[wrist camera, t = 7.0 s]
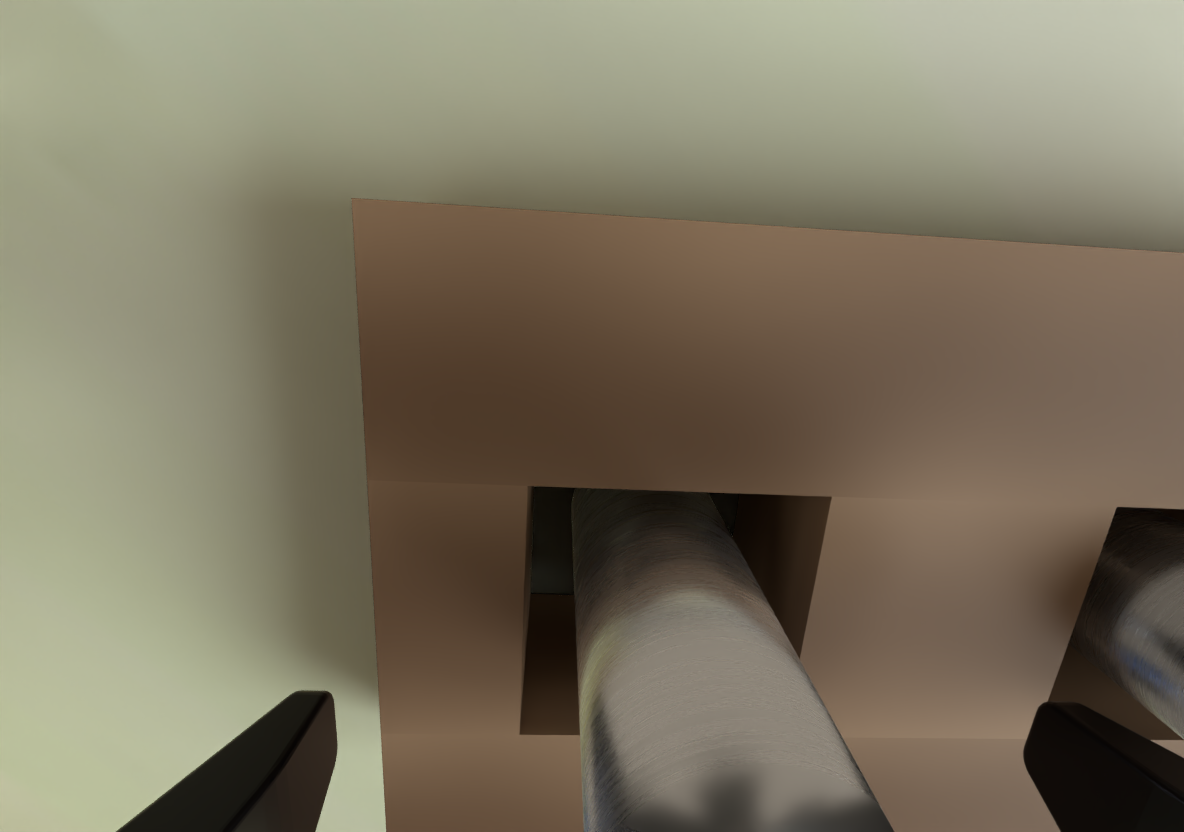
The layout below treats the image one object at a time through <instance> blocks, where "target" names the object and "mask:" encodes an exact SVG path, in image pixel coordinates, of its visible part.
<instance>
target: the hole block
mask: <svg viewBox="0 0 1184 832" xmlns="http://www.w3.org/2000/svg"><path fill="white" fill-rule="evenodd" d="M352 215H353V233H354V251H355V269H356V288H357V306H358V324H359V342H360V360H361V379H362V397H363V415H364V433H365V451H366V469H367V488H368V506H369V524H370V542H371V560H372V579H373V597H374V615H375V633H376V651H377V670H378V688H379V706H380V724H381V742H382V761H383V779H384V797H385V815H386V832H584V824H583V799H582V773H581V748H580V723H579V698H578V672H577V647H576V622H575V597H574V595H555V594H531V570H532V542H533V514H534V486H544V487H572V488H600V489H628V490H656V491H685V492H713V493H739V500H738V506H737V513H736V520H735V527H734V533H733V539H734V541H735V543H736V545H737V546H738V548H739V550H740V552H741V554H742V555H743V557H744V559H745V561H746V563H747V565H748V566H749V568H750V570H751V572H752V574H753V575H754V577H755V579H756V581H757V583H758V585H759V586H760V588H761V590H762V592H763V594H764V595H765V597H766V599H767V601H768V603H769V605H770V606H771V608H772V610H773V612H774V614H775V616H776V617H777V619H778V621H779V623H780V625H781V626H782V628H783V630H784V632H785V634H786V636H787V637H788V639H789V641H790V643H791V645H792V646H793V648H794V650H795V652H796V654H797V656H798V657H799V659H800V661H801V663H802V665H803V666H804V668H805V670H806V672H807V674H808V676H809V677H810V679H811V681H812V683H813V685H814V686H815V688H816V690H817V692H818V694H819V696H820V697H821V699H822V701H823V703H824V705H825V706H826V708H827V710H828V712H829V714H830V716H831V717H832V719H833V721H834V723H835V725H836V726H837V728H838V730H839V732H840V734H841V736H842V737H843V739H844V741H845V743H846V745H847V746H848V748H849V750H850V752H851V754H852V756H853V757H854V759H855V761H856V763H857V765H858V767H859V768H860V770H861V772H862V774H863V776H864V777H865V779H866V781H867V783H868V785H869V787H870V788H871V790H872V792H873V794H874V796H875V797H876V799H877V801H878V803H879V805H880V807H881V808H882V810H883V812H884V814H885V816H886V817H887V819H888V821H889V823H890V825H891V827H892V828H893V830H894V832H1061V831H1060V830H1059V828H1058V826H1057V824H1056V822H1055V821H1054V819H1053V817H1052V815H1051V813H1050V812H1049V810H1048V808H1047V806H1046V804H1045V803H1044V801H1043V799H1042V797H1041V795H1040V794H1039V792H1038V790H1037V788H1036V786H1035V784H1034V783H1033V781H1032V779H1031V777H1030V775H1029V774H1028V772H1027V769H1026V767H1025V764H1024V759H1023V749H1024V745H1025V742H1026V739H1027V737H1028V734H1029V731H1030V728H1031V725H1032V722H1033V720H1034V717H1035V714H1036V711H1037V709H1038V707H1039V706H1040V705H1041V704H1042V703H1043V702H1047V701H1071V702H1077V703H1080V704H1083V705H1085V706H1087V707H1089V708H1090V709H1092V710H1094V711H1096V712H1098V713H1100V714H1102V715H1104V716H1106V717H1107V718H1109V719H1111V720H1113V721H1115V722H1117V723H1119V724H1121V725H1123V726H1124V727H1126V728H1128V729H1130V730H1132V731H1134V732H1136V733H1138V734H1140V735H1142V736H1143V737H1145V738H1147V739H1149V740H1151V741H1153V742H1155V743H1157V744H1159V745H1160V746H1162V747H1164V748H1166V749H1168V750H1170V751H1172V752H1174V753H1176V754H1177V755H1179V756H1181V757H1183V758H1184V739H1182V738H1181V737H1180V736H1179V735H1178V734H1176V733H1175V732H1174V731H1173V730H1172V729H1170V728H1169V727H1168V726H1167V725H1166V724H1164V723H1163V722H1162V721H1161V720H1160V719H1158V718H1157V717H1156V716H1155V715H1154V714H1152V713H1151V712H1150V711H1149V710H1147V709H1146V708H1145V707H1144V706H1143V705H1141V704H1140V703H1139V702H1138V701H1137V700H1135V699H1134V698H1133V697H1132V696H1131V695H1129V694H1128V693H1127V692H1126V691H1125V690H1123V689H1122V688H1121V687H1120V686H1119V685H1117V684H1116V683H1115V682H1114V681H1113V680H1111V679H1110V678H1109V677H1108V676H1107V675H1105V674H1104V673H1103V672H1102V671H1100V670H1099V669H1098V668H1097V667H1096V666H1094V665H1093V664H1092V663H1091V662H1090V661H1088V660H1087V659H1086V658H1085V657H1084V656H1082V655H1081V654H1080V653H1079V652H1078V651H1076V650H1075V649H1074V648H1073V647H1072V646H1070V645H1069V644H1068V643H1069V640H1070V637H1071V634H1072V632H1073V629H1074V626H1075V623H1076V620H1077V617H1078V615H1079V612H1080V609H1081V606H1082V603H1083V601H1084V598H1085V595H1086V592H1087V589H1088V587H1089V584H1090V581H1091V578H1092V575H1093V572H1094V570H1095V567H1096V564H1097V561H1098V558H1099V556H1100V553H1101V550H1102V547H1103V544H1104V542H1105V539H1106V536H1107V533H1108V530H1109V528H1110V525H1111V522H1112V519H1113V516H1114V513H1115V511H1116V508H1117V507H1136V508H1154V509H1156V510H1158V511H1160V512H1162V513H1165V514H1167V515H1169V516H1171V517H1173V518H1175V519H1177V520H1179V521H1181V522H1183V523H1184V253H1179V252H1164V251H1149V250H1134V249H1118V248H1103V247H1088V246H1073V245H1058V244H1042V243H1027V242H1012V241H997V240H981V239H966V238H951V237H936V236H921V235H905V234H890V233H875V232H860V231H844V230H829V229H814V228H799V227H784V226H768V225H753V224H738V223H723V222H707V221H692V220H677V219H662V218H647V217H631V216H616V215H601V214H586V213H571V212H555V211H540V210H525V209H510V208H494V207H479V206H464V205H449V204H434V203H418V202H403V201H388V200H373V199H357V198H352Z"/></svg>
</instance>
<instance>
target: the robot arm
mask: <svg viewBox="0 0 1184 832" xmlns="http://www.w3.org/2000/svg"><path fill="white" fill-rule="evenodd" d="M336 756H337V732H336V720H335V708H334V699H333V697H332V694H331V693H330V692H328V691H304V690H301V691H296V692H294V693H292V694H291V695H289V696H288V697H287V698H285V699H284V700H283V701H282V702H280V703H279V704H278V705H277V706H275V707H274V708H273V709H271V710H270V711H269V712H268V713H266V714H265V715H264V716H263V717H261V718H260V719H259V720H257V721H256V722H255V723H254V724H252V725H251V726H250V727H249V728H247V729H246V730H245V731H243V732H242V733H241V734H240V735H238V736H237V737H236V738H235V739H233V740H232V741H231V742H229V743H228V744H227V745H226V746H224V747H223V748H222V749H221V750H219V751H218V752H217V753H215V754H214V755H213V756H212V757H210V758H209V759H208V760H207V761H205V762H204V763H203V764H201V765H200V766H199V767H198V768H196V769H195V770H194V771H193V772H191V773H190V774H189V775H187V776H186V777H185V778H184V779H182V780H181V781H180V782H179V783H177V784H176V785H175V786H173V787H172V788H171V789H170V790H168V791H167V792H166V793H165V794H163V795H162V796H161V797H159V798H158V799H157V800H156V801H154V802H153V803H152V804H151V805H149V806H148V807H147V808H145V809H144V810H143V811H142V812H140V813H139V814H138V815H137V816H135V817H134V818H133V819H131V820H130V821H129V822H128V823H126V824H125V825H124V826H123V827H121V828H120V829H119V830H117V831H116V832H315V831H316V827H317V824H318V821H319V817H320V814H321V810H322V807H323V804H324V800H325V797H326V793H327V790H328V787H329V783H330V780H331V776H332V773H333V770H334V766H335V762H336ZM1023 759H1024V764H1025V767H1026V769H1027V772H1028V774H1029V775H1030V777H1031V779H1032V781H1033V783H1034V784H1035V786H1036V788H1037V790H1038V792H1039V794H1040V795H1041V797H1042V799H1043V801H1044V803H1045V804H1046V806H1047V808H1048V810H1049V812H1050V813H1051V815H1052V817H1053V819H1054V821H1055V822H1056V824H1057V826H1058V828H1059V830H1060V831H1061V832H1184V758H1183V757H1181V756H1179V755H1177V754H1176V753H1174V752H1172V751H1170V750H1168V749H1166V748H1164V747H1162V746H1160V745H1159V744H1157V743H1155V742H1153V741H1151V740H1149V739H1147V738H1145V737H1143V736H1142V735H1140V734H1138V733H1136V732H1134V731H1132V730H1130V729H1128V728H1126V727H1124V726H1123V725H1121V724H1119V723H1117V722H1115V721H1113V720H1111V719H1109V718H1107V717H1106V716H1104V715H1102V714H1100V713H1098V712H1096V711H1094V710H1092V709H1090V708H1089V707H1087V706H1085V705H1083V704H1080V703H1077V702H1071V701H1047V702H1043V703H1042V704H1041V705H1040V706H1039V707H1038V709H1037V711H1036V714H1035V717H1034V720H1033V722H1032V725H1031V728H1030V731H1029V734H1028V737H1027V739H1026V742H1025V745H1024V749H1023Z"/></svg>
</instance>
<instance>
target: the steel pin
mask: <svg viewBox="0 0 1184 832" xmlns="http://www.w3.org/2000/svg"><path fill="white" fill-rule="evenodd" d="M571 521H572V546H573V571H574V597H575V622H576V647H577V672H578V698H579V723H580V748H581V773H582V799H583V824H584V832H894V830H893V828H892V827H891V825H890V823H889V821H888V819H887V817H886V816H885V814H884V812H883V810H882V808H881V807H880V805H879V803H878V801H877V799H876V797H875V796H874V794H873V792H872V790H871V788H870V787H869V785H868V783H867V781H866V779H865V777H864V776H863V774H862V772H861V770H860V768H859V767H858V765H857V763H856V761H855V759H854V757H853V756H852V754H851V752H850V750H849V748H848V746H847V745H846V743H845V741H844V739H843V737H842V736H841V734H840V732H839V730H838V728H837V726H836V725H835V723H834V721H833V719H832V717H831V716H830V714H829V712H828V710H827V708H826V706H825V705H824V703H823V701H822V699H821V697H820V696H819V694H818V692H817V690H816V688H815V686H814V685H813V683H812V681H811V679H810V677H809V676H808V674H807V672H806V670H805V668H804V666H803V665H802V663H801V661H800V659H799V657H798V656H797V654H796V652H795V650H794V648H793V646H792V645H791V643H790V641H789V639H788V637H787V636H786V634H785V632H784V630H783V628H782V626H781V625H780V623H779V621H778V619H777V617H776V616H775V614H774V612H773V610H772V608H771V606H770V605H769V603H768V601H767V599H766V597H765V595H764V594H763V592H762V590H761V588H760V586H759V585H758V583H757V581H756V579H755V577H754V575H753V574H752V572H751V570H750V568H749V566H748V565H747V563H746V561H745V559H744V557H743V555H742V554H741V552H740V550H739V548H738V546H737V545H736V543H735V541H734V539H733V537H732V535H731V534H730V532H729V530H728V528H727V526H726V525H725V523H724V521H723V519H722V517H721V515H720V514H719V512H718V510H717V508H716V506H715V505H714V503H713V501H712V499H711V497H710V495H709V494H708V492H685V491H656V490H628V489H600V488H575V491H574V494H573V498H572V504H571Z"/></svg>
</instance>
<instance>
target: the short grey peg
mask: <svg viewBox="0 0 1184 832" xmlns="http://www.w3.org/2000/svg"><path fill="white" fill-rule="evenodd" d="M1068 644H1069V645H1070V646H1072V647H1073V648H1074V649H1075V650H1076V651H1078V652H1079V653H1080V654H1081V655H1082V656H1084V657H1085V658H1086V659H1087V660H1088V661H1090V662H1091V663H1092V664H1093V665H1094V666H1096V667H1097V668H1098V669H1099V670H1100V671H1102V672H1103V673H1104V674H1105V675H1107V676H1108V677H1109V678H1110V679H1111V680H1113V681H1114V682H1115V683H1116V684H1117V685H1119V686H1120V687H1121V688H1122V689H1123V690H1125V691H1126V692H1127V693H1128V694H1129V695H1131V696H1132V697H1133V698H1134V699H1135V700H1137V701H1138V702H1139V703H1140V704H1141V705H1143V706H1144V707H1145V708H1146V709H1147V710H1149V711H1150V712H1151V713H1152V714H1154V715H1155V716H1156V717H1157V718H1158V719H1160V720H1161V721H1162V722H1163V723H1164V724H1166V725H1167V726H1168V727H1169V728H1170V729H1172V730H1173V731H1174V732H1175V733H1176V734H1178V735H1179V736H1180V737H1181V738H1182V739H1184V523H1183V522H1181V521H1179V520H1177V519H1175V518H1173V517H1171V516H1169V515H1167V514H1165V513H1162V512H1160V511H1158V510H1156V509H1154V508H1136V507H1117V508H1116V511H1115V513H1114V516H1113V519H1112V522H1111V525H1110V528H1109V530H1108V533H1107V536H1106V539H1105V542H1104V544H1103V547H1102V550H1101V553H1100V556H1099V558H1098V561H1097V564H1096V567H1095V570H1094V572H1093V575H1092V578H1091V581H1090V584H1089V587H1088V589H1087V592H1086V595H1085V598H1084V601H1083V603H1082V606H1081V609H1080V612H1079V615H1078V617H1077V620H1076V623H1075V626H1074V629H1073V632H1072V634H1071V637H1070V640H1069V643H1068Z"/></svg>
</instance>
